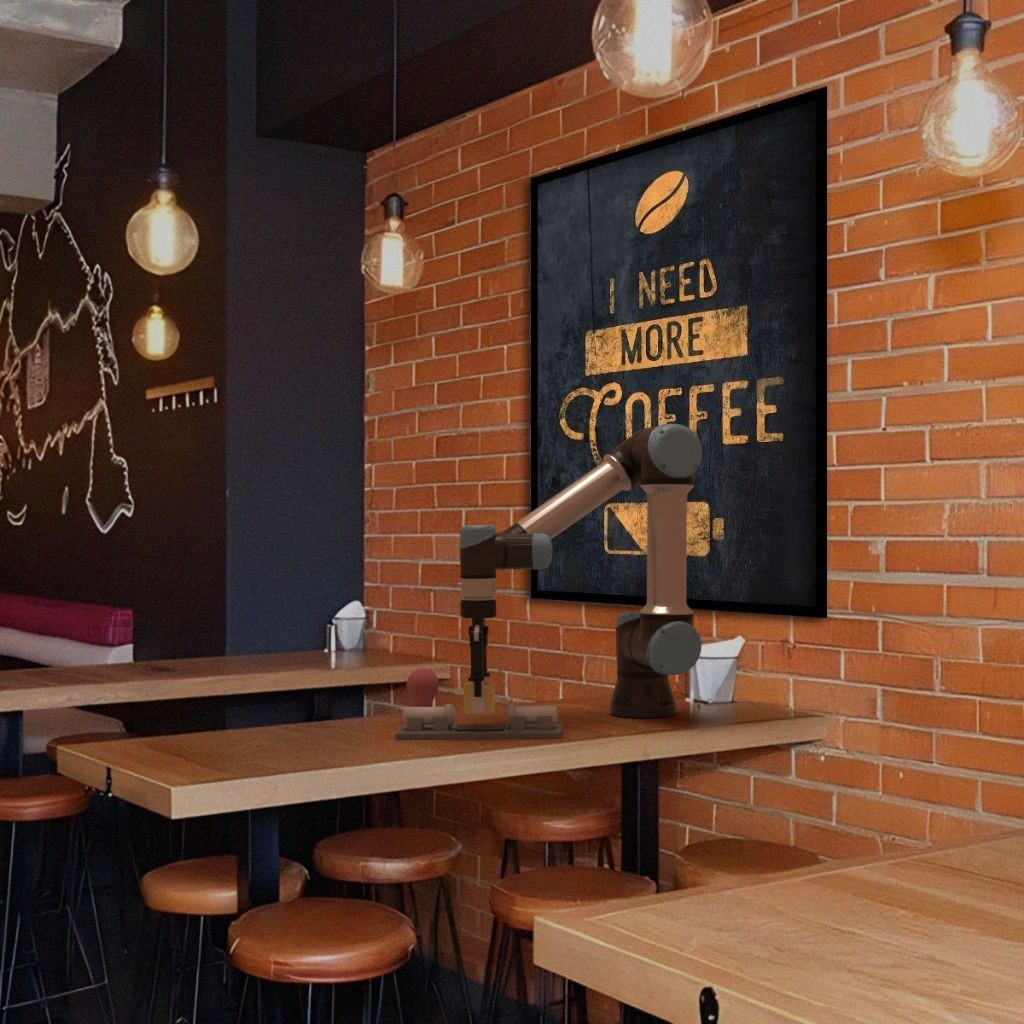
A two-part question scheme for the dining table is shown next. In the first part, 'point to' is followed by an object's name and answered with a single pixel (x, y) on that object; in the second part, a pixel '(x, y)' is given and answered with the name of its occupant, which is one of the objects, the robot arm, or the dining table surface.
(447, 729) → the grey assembly fixture
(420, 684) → the light bulb
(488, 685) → the block
